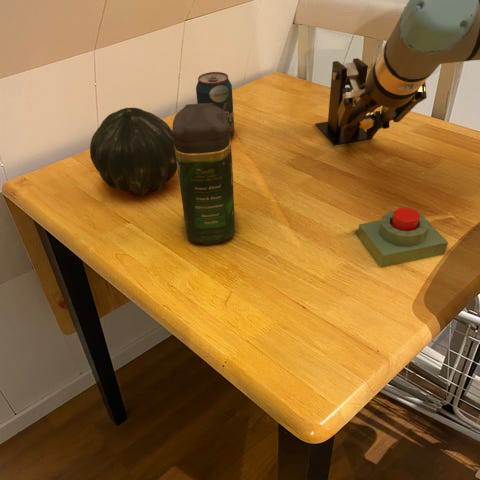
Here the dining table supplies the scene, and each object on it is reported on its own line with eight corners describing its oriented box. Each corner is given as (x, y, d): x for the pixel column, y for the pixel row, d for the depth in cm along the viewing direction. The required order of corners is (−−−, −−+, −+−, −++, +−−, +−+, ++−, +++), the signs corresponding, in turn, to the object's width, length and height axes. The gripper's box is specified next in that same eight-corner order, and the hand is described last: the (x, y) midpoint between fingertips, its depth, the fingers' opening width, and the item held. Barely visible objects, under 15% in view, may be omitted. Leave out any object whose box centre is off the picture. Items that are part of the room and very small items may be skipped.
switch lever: (374, 132, 88) (381, 118, 85) (356, 135, 88) (362, 121, 84) (353, 74, 92) (358, 58, 88) (335, 76, 91) (340, 61, 88)
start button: (409, 215, 71) (412, 205, 70) (422, 229, 69) (424, 218, 68) (386, 220, 71) (389, 209, 70) (398, 234, 68) (401, 223, 67)
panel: (416, 224, 76) (422, 202, 73) (444, 254, 70) (451, 231, 67) (357, 236, 74) (360, 213, 72) (380, 267, 69) (385, 244, 66)
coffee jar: (237, 244, 74) (230, 125, 61) (186, 248, 74) (167, 129, 61) (234, 210, 81) (227, 95, 68) (186, 213, 81) (170, 99, 68)
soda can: (234, 145, 98) (231, 83, 89) (200, 147, 98) (193, 84, 89) (234, 130, 102) (231, 69, 94) (202, 132, 103) (195, 71, 94)
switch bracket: (371, 144, 95) (383, 69, 85) (333, 151, 94) (340, 75, 84) (350, 124, 102) (359, 52, 92) (314, 129, 101) (319, 57, 91)
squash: (122, 127, 93) (83, 85, 78) (196, 136, 90) (169, 95, 75) (107, 199, 93) (64, 171, 78) (180, 211, 90) (150, 184, 75)
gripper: (344, 101, 69) (315, 156, 93) (459, 92, 70) (402, 149, 93) (340, 49, 69) (312, 117, 93) (455, 40, 70) (398, 110, 93)
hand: (357, 133), depth 93 cm, fingers closed on switch lever, 4 cm apart
